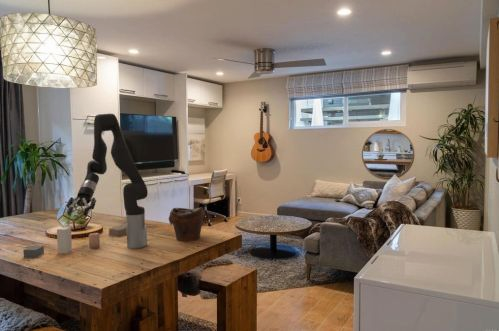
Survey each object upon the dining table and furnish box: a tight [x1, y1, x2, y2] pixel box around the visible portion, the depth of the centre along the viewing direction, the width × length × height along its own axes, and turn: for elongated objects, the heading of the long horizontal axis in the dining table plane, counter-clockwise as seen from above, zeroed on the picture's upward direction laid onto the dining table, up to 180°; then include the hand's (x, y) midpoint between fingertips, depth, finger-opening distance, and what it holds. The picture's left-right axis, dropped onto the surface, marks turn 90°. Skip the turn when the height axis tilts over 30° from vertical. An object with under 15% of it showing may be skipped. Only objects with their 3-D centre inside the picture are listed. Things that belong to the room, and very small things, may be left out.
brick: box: [108, 222, 127, 238], centre depth 211 cm, size 17×8×5 cm, turn 157°
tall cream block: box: [56, 226, 73, 255], centre depth 175 cm, size 4×4×12 cm
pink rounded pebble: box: [88, 232, 101, 250], centre depth 183 cm, size 5×5×7 cm
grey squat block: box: [23, 245, 45, 259], centre depth 170 cm, size 6×6×4 cm
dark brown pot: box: [168, 206, 205, 242], centre depth 198 cm, size 18×20×18 cm
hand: (76, 214), depth 186 cm, fingers open, 8 cm apart
